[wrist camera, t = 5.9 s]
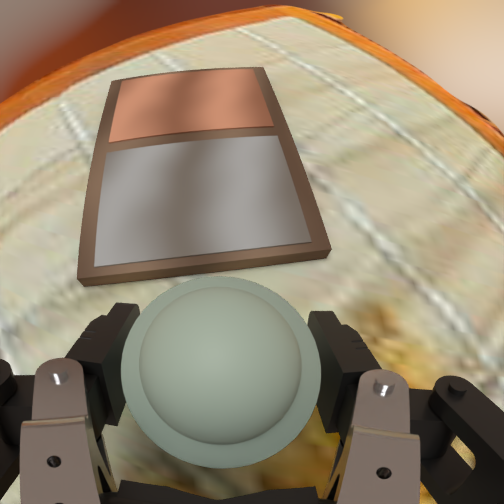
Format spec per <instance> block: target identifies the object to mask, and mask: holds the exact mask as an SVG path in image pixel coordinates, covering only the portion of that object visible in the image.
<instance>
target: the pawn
mask: <svg viewBox="0 0 504 504" xmlns="http://www.w3.org/2000/svg"><path fill="white" fill-rule="evenodd" d="M121 381H122V387H123V393H124V396H125V399H126V402H127V405H128V407H129V409H130V412H131V414H132V416H133V418H134V419H135V421H136V422H137V424H138V425H139V427H140V428H141V429H142V431H143V432H144V433H145V434H146V435H147V436H148V437H149V438H150V439H151V440H152V441H153V442H154V443H155V444H156V445H157V446H159V447H160V448H161V449H163V450H164V451H166V452H167V453H169V454H170V455H172V456H174V457H176V458H178V459H180V460H183V461H185V462H188V463H191V464H194V465H198V466H203V467H208V468H223V469H224V468H237V467H242V466H247V465H251V464H254V463H257V462H260V461H262V460H265V459H267V458H269V457H270V456H272V455H274V454H276V453H278V452H279V451H280V450H282V449H283V448H284V447H286V446H287V445H288V444H289V443H290V442H291V441H292V440H294V439H295V438H296V437H297V435H298V434H299V433H300V432H301V430H302V429H303V428H304V427H305V425H306V423H307V422H308V420H309V418H310V417H311V415H312V412H313V410H314V408H315V405H316V403H317V399H318V395H319V391H320V382H321V364H320V358H319V352H318V349H317V346H316V342H315V340H314V338H313V335H312V333H311V331H310V329H309V327H308V326H307V324H306V323H305V321H304V319H303V318H302V317H301V316H300V314H299V313H298V312H297V311H296V309H294V308H293V307H292V306H291V305H290V304H289V303H288V302H287V301H286V300H285V299H283V298H282V297H281V296H279V295H278V294H277V293H275V292H273V291H272V290H270V289H268V288H266V287H264V286H262V285H259V284H257V283H255V282H251V281H248V280H245V279H240V278H234V277H223V276H215V277H204V278H198V279H194V280H190V281H187V282H184V283H181V284H179V285H177V286H175V287H172V288H171V289H169V290H167V291H166V292H164V293H162V294H161V295H160V296H158V297H157V298H156V299H155V300H153V301H152V302H151V303H150V304H149V305H148V306H147V307H146V308H145V309H144V310H143V311H142V313H141V314H140V315H139V317H138V318H137V319H136V321H135V323H134V324H133V326H132V328H131V330H130V332H129V334H128V337H127V339H126V342H125V346H124V349H123V353H122V361H121Z"/></svg>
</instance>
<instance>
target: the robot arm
mask: <svg viewBox="0 0 504 504" xmlns="http://www.w3.org/2000/svg"><path fill="white" fill-rule="evenodd" d="M139 315H140V310H139V306H138V305H137V304H129V303H116V304H115V305H114V306H113V308H112V309H111V310H110V312H109V313H108V315H107V316H106V315H101V316H99V317H98V318H96V319H94V320H93V321H91V322H90V324H89V325H88V326H87V328H86V329H85V331H84V332H83V333H82V334H81V336H80V338H78V340H77V341H76V342H75V344H74V345H73V346H72V348H71V349H70V351H69V352H68V353H67V355H66V356H65V358H56V359H52V360H49V361H47V362H45V363H43V364H42V365H41V366H39V368H38V369H37V371H36V374H35V375H13V372H12V369H11V366H10V364H9V363H8V362H6V361H5V360H2V359H0V500H1V499H2V497H3V496H4V494H5V493H6V492H7V490H8V489H9V487H10V486H11V485H12V483H13V482H14V481H15V479H16V478H17V476H18V475H19V474H20V495H21V504H419V498H420V481H421V482H422V483H423V485H424V486H425V487H426V489H427V490H428V491H429V493H430V494H431V495H432V497H433V498H434V499H435V501H436V502H437V504H504V412H503V411H502V410H501V409H500V408H499V407H498V406H497V405H495V404H494V403H493V402H492V401H491V400H490V399H489V398H487V397H486V396H485V395H484V394H483V393H482V392H481V391H480V390H478V389H477V388H476V387H475V386H474V385H473V384H471V383H470V382H469V381H467V380H465V379H463V378H461V377H457V376H443V377H441V378H439V379H438V380H437V381H436V383H435V385H434V388H433V390H422V389H411V388H409V387H408V384H407V382H406V380H405V379H404V378H403V377H401V376H400V375H398V374H397V373H394V372H392V371H388V370H382V368H381V367H380V365H379V364H378V362H377V361H376V359H375V358H374V356H373V355H372V353H371V352H370V350H369V349H368V347H367V346H366V344H365V343H364V342H363V340H362V338H361V337H360V335H359V334H358V332H357V331H355V330H354V329H353V328H351V327H350V326H348V325H341V323H340V322H339V320H338V319H337V317H336V315H335V314H334V312H333V311H311V312H310V314H309V318H308V325H307V326H308V327H309V329H310V331H311V333H312V335H313V338H314V340H315V342H316V346H317V349H318V352H319V358H320V364H321V382H320V391H319V395H318V399H317V403H316V404H317V407H318V410H319V413H320V416H321V419H322V422H323V426H324V429H325V432H326V433H335V432H339V435H340V437H341V438H340V440H339V443H338V446H337V449H336V453H335V457H334V461H333V464H332V468H331V472H330V475H329V479H328V482H327V485H326V489H325V492H324V495H323V497H322V499H320V498H318V495H317V491H316V487H315V486H313V487H304V488H293V489H278V490H266V491H262V492H258V493H253V494H249V495H244V496H239V497H234V498H229V499H223V500H214V499H209V498H205V497H201V496H198V495H194V494H190V493H187V492H183V491H180V490H177V489H174V488H170V487H167V486H159V485H151V484H144V483H138V482H132V481H126V480H121V483H120V487H119V491H118V490H117V488H116V485H115V481H114V478H113V474H112V470H111V466H110V462H109V458H108V454H107V450H106V445H105V441H104V437H103V434H102V430H103V428H104V425H105V424H108V425H114V426H118V423H119V420H120V417H121V414H122V412H123V409H124V406H125V403H126V399H125V396H124V393H123V387H122V381H121V361H122V353H123V349H124V346H125V342H126V339H127V337H128V334H129V332H130V330H131V328H132V326H133V324H134V323H135V321H136V319H137V318H138V317H139ZM456 435H457V436H458V437H459V439H460V440H461V441H462V442H463V443H464V444H465V445H466V446H467V447H468V448H469V449H470V450H471V451H472V453H473V454H474V456H475V459H476V465H475V468H474V470H472V469H471V468H470V466H469V465H468V464H467V463H466V462H465V461H464V460H463V459H462V457H461V456H460V455H459V454H458V453H457V452H456V451H455V450H454V448H453V447H452V446H451V443H452V442H453V440H454V438H455V437H456Z"/></svg>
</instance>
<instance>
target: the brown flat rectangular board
mask: <svg viewBox="0 0 504 504" xmlns="http://www.w3.org/2000/svg"><path fill="white" fill-rule="evenodd" d="M330 251H331V245H330V242H329V239H328V236H327V233H326V230H325V227H324V224H323V221H322V218H321V215H320V212H319V209H318V206H317V203H316V200H315V198H314V195H313V192H312V189H311V186H310V183H309V181H308V178H307V175H306V172H305V170H304V167H303V164H302V162H301V159H300V156H299V154H298V151H297V148H296V146H295V143H294V140H293V138H292V135H291V133H290V130H289V128H288V125H287V123H286V120H285V118H284V115H283V113H282V110H281V108H280V105H279V103H278V101H277V98H276V96H275V93H274V91H273V89H272V86H271V84H270V82H269V79H268V77H267V75H266V72H265V70H264V68H263V67H241V68H215V69H200V70H188V71H177V72H168V73H160V74H152V75H145V76H138V77H132V78H126V79H120V80H115V81H112V82H111V85H110V89H109V92H108V96H107V99H106V103H105V107H104V110H103V114H102V118H101V122H100V126H99V130H98V135H97V139H96V144H95V148H94V153H93V158H92V163H91V168H90V173H89V179H88V185H87V191H86V197H85V204H84V211H83V218H82V227H81V235H80V245H79V256H78V269H77V279H78V280H79V282H80V283H81V284H82V285H83V286H93V285H103V284H112V283H122V282H131V281H140V280H149V279H158V278H167V277H176V276H184V275H193V274H202V273H210V272H218V271H227V270H235V269H243V268H252V267H260V266H268V265H276V264H284V263H292V262H300V261H307V260H315V259H323V258H327V256H328V254H329V253H330Z"/></svg>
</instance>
